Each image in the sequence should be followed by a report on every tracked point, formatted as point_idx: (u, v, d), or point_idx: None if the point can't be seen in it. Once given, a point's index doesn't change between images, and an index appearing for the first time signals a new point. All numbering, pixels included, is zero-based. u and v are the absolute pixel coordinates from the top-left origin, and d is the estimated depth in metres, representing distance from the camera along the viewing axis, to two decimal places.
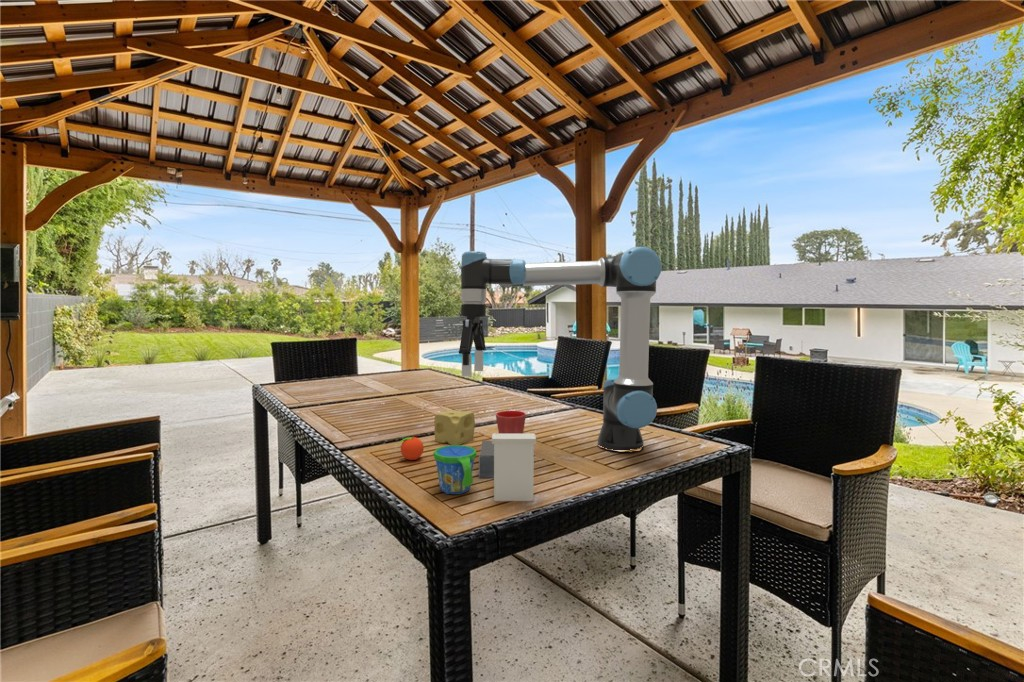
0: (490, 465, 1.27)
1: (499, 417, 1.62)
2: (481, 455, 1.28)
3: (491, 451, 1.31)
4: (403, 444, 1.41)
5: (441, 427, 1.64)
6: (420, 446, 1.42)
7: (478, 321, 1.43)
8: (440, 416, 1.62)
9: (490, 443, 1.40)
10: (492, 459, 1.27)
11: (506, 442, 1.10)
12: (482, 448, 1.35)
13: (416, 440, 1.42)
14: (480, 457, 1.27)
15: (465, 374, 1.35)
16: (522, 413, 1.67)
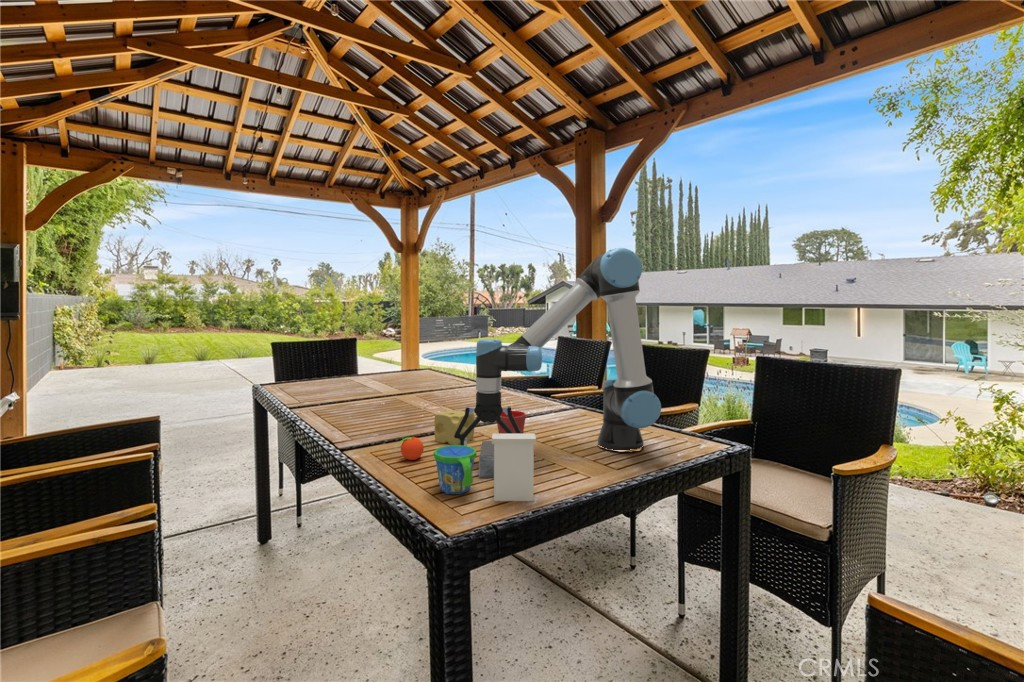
0: (490, 465, 1.27)
1: None
2: (481, 455, 1.28)
3: (491, 451, 1.31)
4: (403, 444, 1.41)
5: (441, 427, 1.64)
6: (420, 446, 1.42)
7: (494, 409, 1.39)
8: (440, 416, 1.62)
9: (490, 443, 1.40)
10: (492, 459, 1.27)
11: (506, 442, 1.10)
12: (482, 448, 1.35)
13: (416, 440, 1.42)
14: (480, 457, 1.27)
15: None
16: (522, 413, 1.67)
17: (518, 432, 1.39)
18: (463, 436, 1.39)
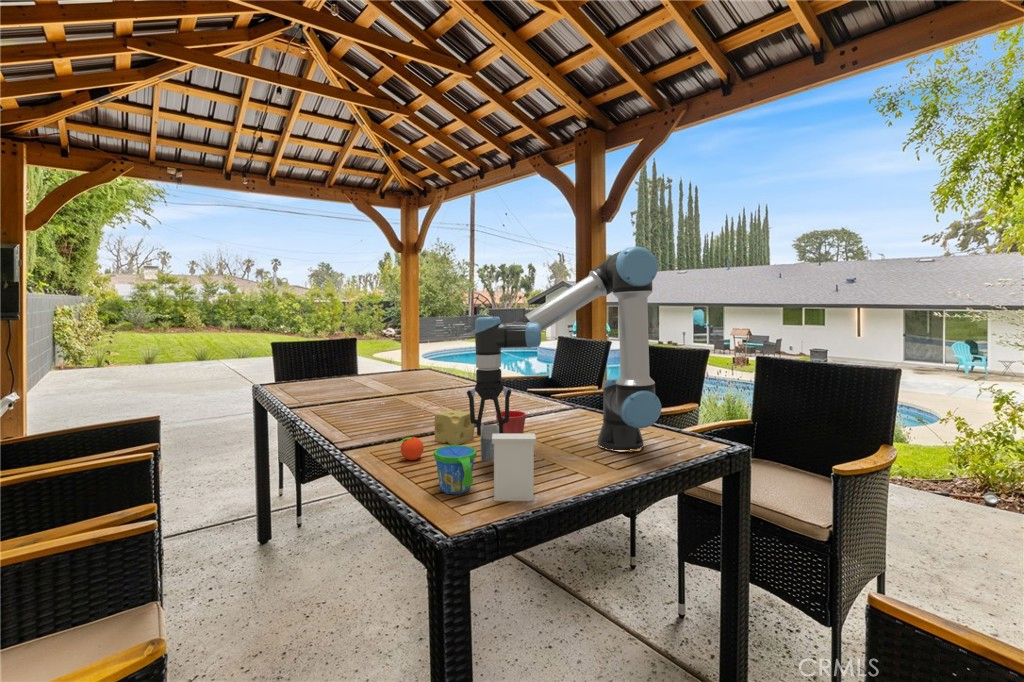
0: (492, 448, 1.27)
1: None
2: (483, 438, 1.28)
3: None
4: (403, 444, 1.41)
5: (441, 427, 1.64)
6: (420, 446, 1.42)
7: (496, 385, 1.38)
8: (440, 416, 1.62)
9: (492, 427, 1.40)
10: None
11: (506, 442, 1.10)
12: (483, 432, 1.34)
13: (416, 440, 1.42)
14: (482, 440, 1.27)
15: None
16: (522, 413, 1.67)
17: (507, 416, 1.39)
18: (478, 421, 1.39)
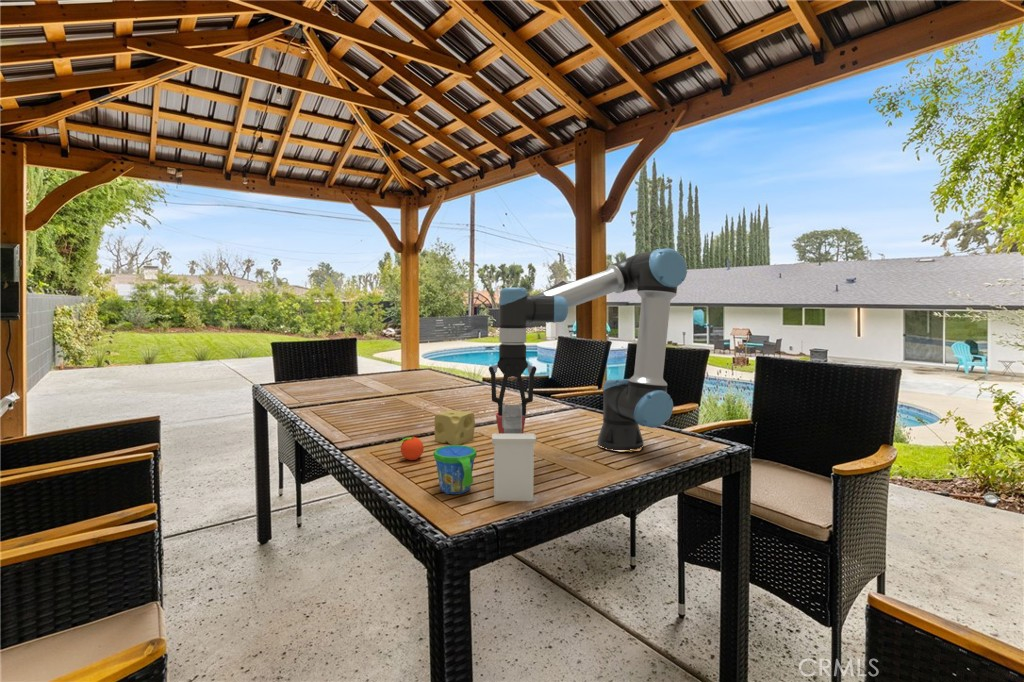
0: (517, 426, 1.18)
1: (499, 417, 1.62)
2: (506, 416, 1.18)
3: (517, 413, 1.22)
4: (403, 444, 1.41)
5: (441, 427, 1.64)
6: (420, 446, 1.42)
7: (520, 361, 1.29)
8: (440, 416, 1.62)
9: (514, 406, 1.30)
10: (518, 420, 1.18)
11: (506, 442, 1.10)
12: (506, 410, 1.25)
13: (416, 440, 1.42)
14: (505, 418, 1.18)
15: None
16: None
17: (531, 395, 1.29)
18: (500, 399, 1.29)
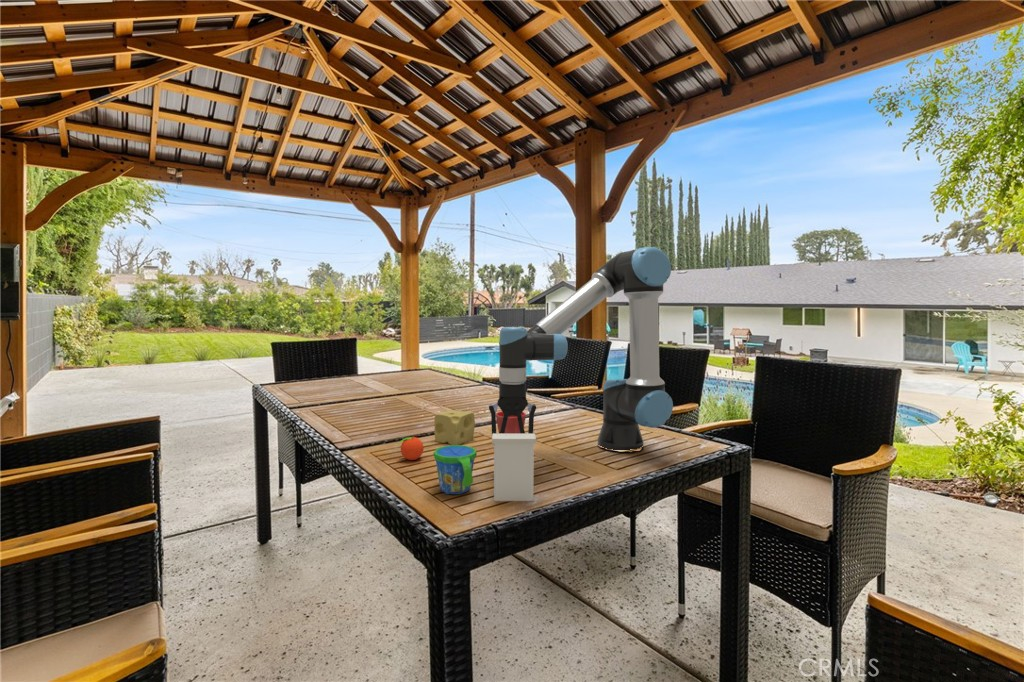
0: None
1: (499, 417, 1.62)
2: None
3: None
4: (403, 444, 1.41)
5: (441, 427, 1.64)
6: (420, 446, 1.42)
7: (520, 400, 1.29)
8: (440, 416, 1.62)
9: None
10: None
11: (506, 442, 1.10)
12: None
13: (416, 440, 1.42)
14: None
15: None
16: (522, 413, 1.67)
17: (531, 433, 1.30)
18: None
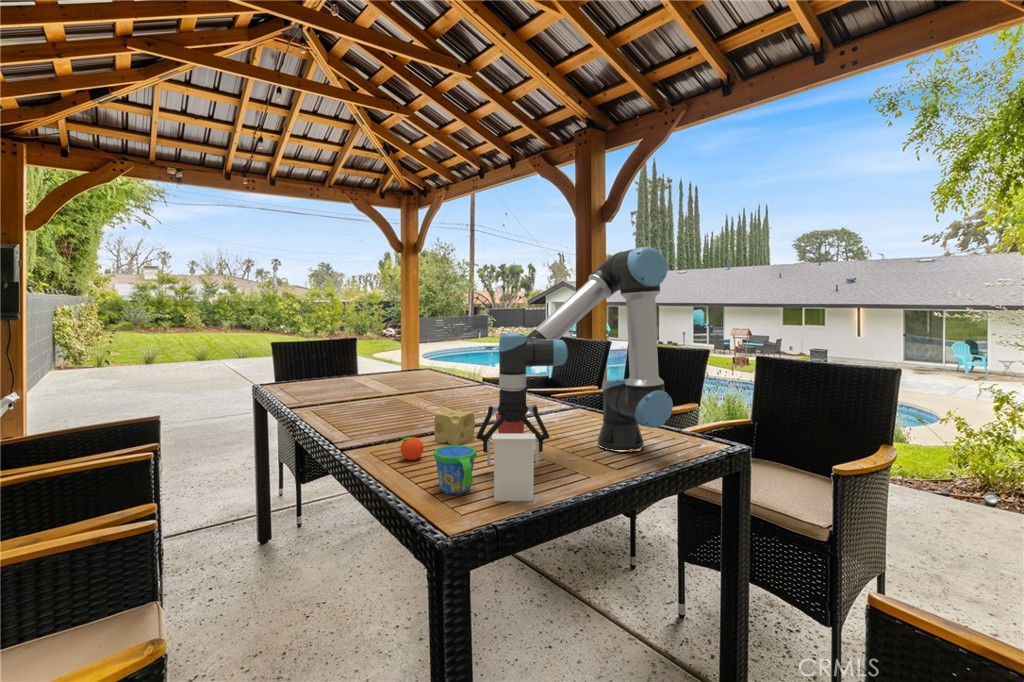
0: None
1: None
2: None
3: None
4: (403, 444, 1.41)
5: (441, 427, 1.64)
6: (420, 446, 1.42)
7: (519, 408, 1.30)
8: (440, 416, 1.62)
9: None
10: None
11: (506, 442, 1.10)
12: None
13: (416, 440, 1.42)
14: None
15: None
16: None
17: (545, 432, 1.30)
18: (486, 437, 1.30)
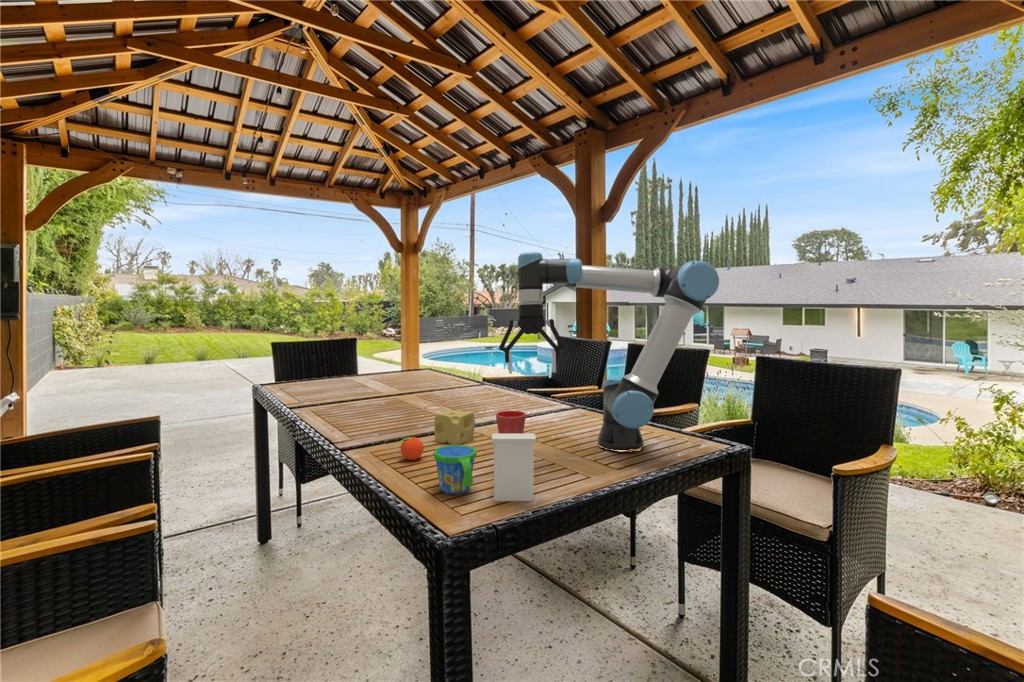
0: None
1: (499, 417, 1.62)
2: None
3: None
4: (403, 444, 1.41)
5: (441, 427, 1.64)
6: (420, 446, 1.42)
7: (537, 321, 1.43)
8: (440, 416, 1.62)
9: None
10: None
11: (506, 442, 1.10)
12: None
13: (416, 440, 1.42)
14: None
15: None
16: (522, 413, 1.67)
17: (561, 342, 1.43)
18: (508, 348, 1.43)
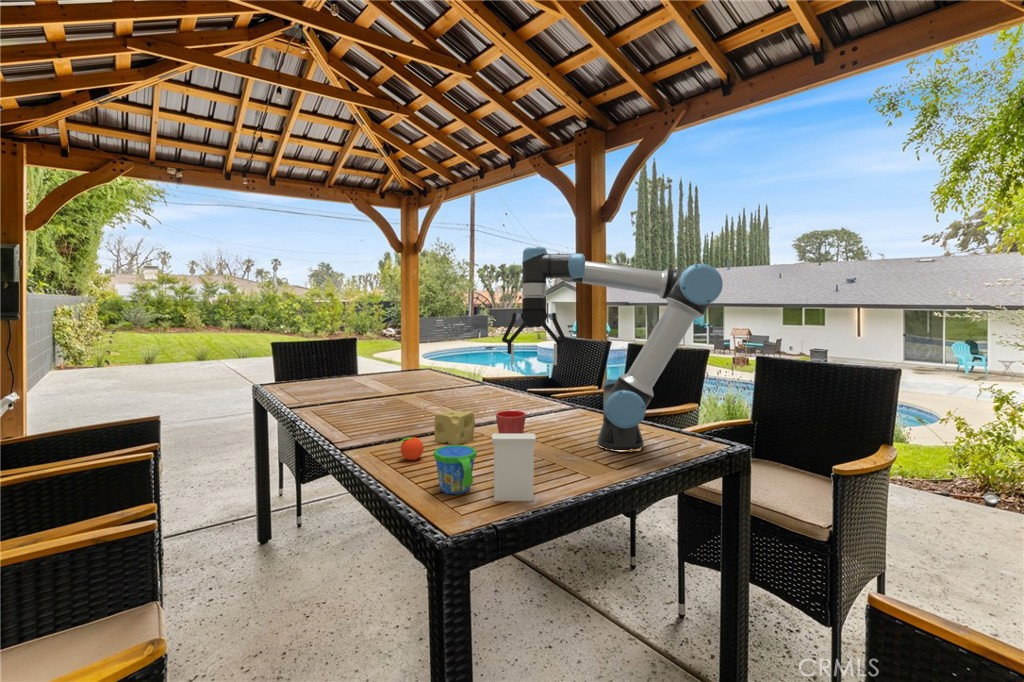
0: None
1: (499, 417, 1.62)
2: None
3: None
4: (403, 444, 1.41)
5: (441, 427, 1.64)
6: (420, 446, 1.42)
7: (540, 314, 1.46)
8: (440, 416, 1.62)
9: None
10: None
11: (506, 442, 1.10)
12: None
13: (416, 440, 1.42)
14: None
15: None
16: (522, 413, 1.67)
17: (562, 336, 1.47)
18: (510, 340, 1.46)
